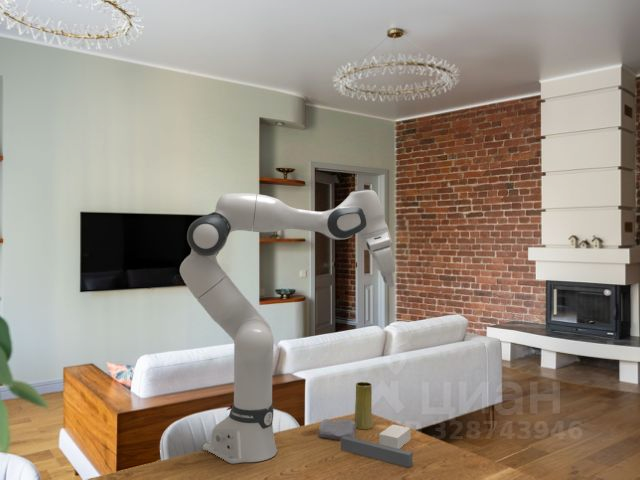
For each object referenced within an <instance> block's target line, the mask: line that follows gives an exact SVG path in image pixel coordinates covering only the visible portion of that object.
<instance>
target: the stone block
mask: <svg viewBox="0 0 640 480" xmlns="http://www.w3.org/2000/svg"><path fill="white" fill-rule="evenodd" d="M356 429H357V428H356V424H355V420H352V419H350V418H349V419H346V418H345V419H339V420H330V419H328V418H327V419H326V418H325V419H323V420H322V421H320V423H319V428H318V437H320V438H323V439H331V440H336V441H337V440H338V441H341V438H342V437H343V436H349V437H353V438H356Z"/></svg>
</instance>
